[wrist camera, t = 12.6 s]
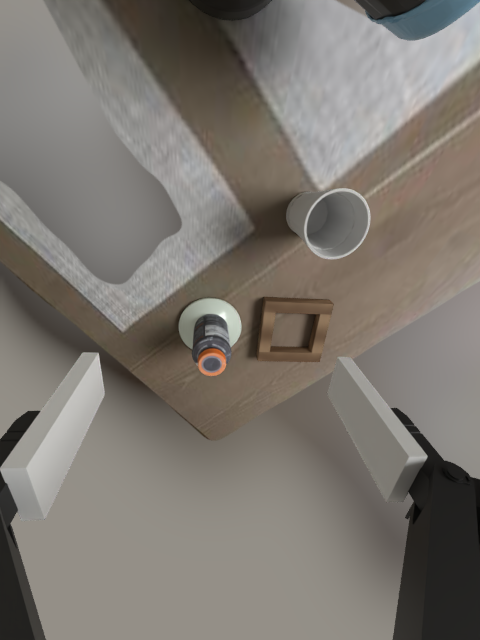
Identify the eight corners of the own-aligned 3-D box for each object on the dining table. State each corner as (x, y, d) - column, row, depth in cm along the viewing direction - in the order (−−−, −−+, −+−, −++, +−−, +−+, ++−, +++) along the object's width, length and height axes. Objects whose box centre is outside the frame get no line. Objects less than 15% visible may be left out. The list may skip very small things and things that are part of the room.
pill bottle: (205, 347, 52) (204, 388, 42) (187, 322, 50) (181, 360, 40) (233, 332, 51) (240, 370, 41) (217, 306, 49) (219, 340, 39)
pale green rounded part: (178, 296, 48) (178, 297, 48) (243, 298, 50) (244, 300, 49) (179, 351, 53) (178, 353, 52) (238, 352, 54) (238, 354, 54)
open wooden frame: (263, 296, 50) (265, 301, 48) (329, 299, 51) (333, 304, 50) (256, 355, 55) (257, 360, 53) (316, 356, 57) (319, 361, 55)
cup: (308, 250, 47) (337, 271, 36) (270, 220, 44) (290, 234, 34) (341, 207, 44) (384, 217, 34) (304, 173, 42) (337, 172, 31)
